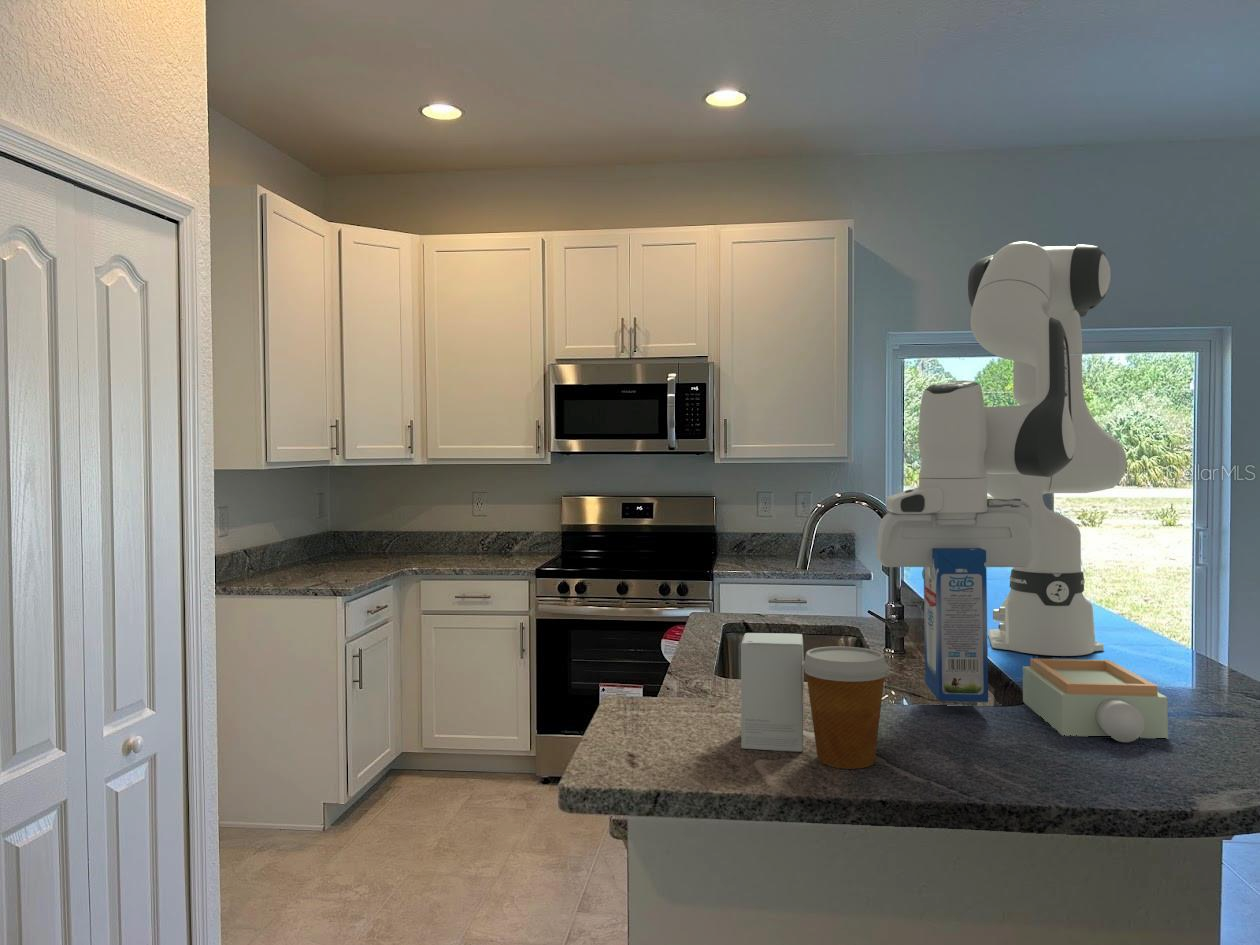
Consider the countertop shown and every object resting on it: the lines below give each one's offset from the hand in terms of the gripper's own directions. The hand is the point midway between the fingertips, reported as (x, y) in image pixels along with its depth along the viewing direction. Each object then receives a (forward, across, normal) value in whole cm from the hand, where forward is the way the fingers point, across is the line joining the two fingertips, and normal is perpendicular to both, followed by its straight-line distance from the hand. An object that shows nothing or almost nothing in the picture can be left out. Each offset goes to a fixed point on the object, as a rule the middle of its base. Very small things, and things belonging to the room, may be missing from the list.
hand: (953, 599), depth 122 cm
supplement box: (+15, +25, +19) cm, 34 cm away
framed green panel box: (+15, -16, +6) cm, 22 cm away
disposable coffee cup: (+14, +17, +25) cm, 33 cm away
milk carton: (+13, 0, 0) cm, 13 cm away
